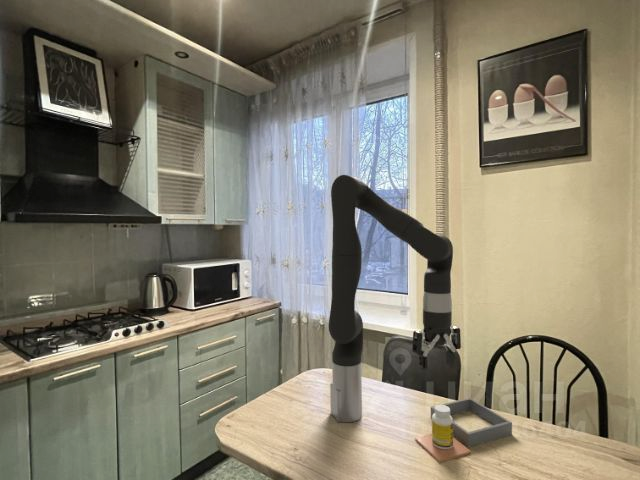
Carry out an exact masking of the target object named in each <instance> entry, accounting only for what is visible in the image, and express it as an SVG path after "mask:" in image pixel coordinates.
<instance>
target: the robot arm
mask: <svg viewBox="0 0 640 480" xmlns="http://www.w3.org/2000/svg"><path fill="white" fill-rule="evenodd" d="M330 197H331V213H332V248H331V249H332V250H331V302H330V311H329V320H328V332H329V335H330V337H331V338H332V339H333V341H335V342H334V343H335V344H334V347H333V350H332V353H331V360H332V361H331V364H332V366H331V367H332V373H331V374H332V377H331V378H332V383H330V384H329V385H330V387H329V388H330V389H329V391H330V395H329V396H330V414H331V415H332V416H333V418H334V419H335V421H336V422H338V423H339V422H340V423H341V422H343V423H354V422H357V421H358V420H361V418H362V417H363V400H362V399H363V397H362V396H363V393H362V392H363V390H362V387H363V386H362V385H363V383H362V379H363V378H362V355H363V352H364V351H363V349H364V322H363V319H362V316H361V314H360V313H359V312H358V311H356V307H355V303H356V301H355V300H356V293H357V290H358V286H359V282H360V279H361V272H362V261H363V260H362V259H363V258H362V257H363V256H362V255H363V253H362V252H363V250H362V243H361V240H360V237H359V234H358V229H357V225H356V209H359V210H361V211H362V212H364V213H367V214H368V215H369V216H371V217H372V218H374V219H375V220H376V221H377V222H379V224H380V225H381V226H382V227H383V228H384V229H386V230H387V231H389V232H390V234H392V235H394V236H395V237H397V238H398V239H399V240H401V241H402V242H404V243H407V245H409V247H411V248H412V249H413V250H414V251H415V252H417V253H418V254H419V256H422V258H424V259H426V260H427V264H426V265H427V266H426V267H427V268H426V270H425V272H424V274H423V296H422V324H423V329H422V330H421V331H419V330H416V329H414V331H413V333H412V347H411V348H412V353H414V354H416V355H418V365H419V367H420V369H422V370H424V371H427V370H428V356H427V355H428V354H429V352H430V351H431V350H432V349H433V348H434V347H438V346H444V347H445V349H446V350H445V364H447V365H448V366H454V363H455V352H456V350H460V349H461V347H462V340H461V329H460V328H459V327H457V326H454V325H452V324H453V321H452V320H453V319H452V317H453V316H452V315H453V311H452V309H453V299H452V293H451V292H452V279H451V276H452V275H451V272H452V267H453V266H452V265H453V256H454V247H453V243H452V241H451V240H450V238H448V237H447V236H445V235H438V234H436V233H434V231H431V230H430V229H428V228H426V227H425V226H424V224H423V223H422V222H420V221H419V220H417V219H416V218H414V217H413V216H411V215H410V214H408V213H406V212H405V211H403V210H402V209H399V208H398V207H396V206H395V205H393V204H391V203H390V202H388V201H387V200H385V199H384V198H383V197H381V196H380V195H378V194H377V193H376V192H375V191H373V189H371V188H370V187H369V186H368V185H367V184H366V182H364V181H363V180H362V179H360V178H359V177H355V176H353V175H349V174H340V175H339V176H337V177H336V178H335V179H334V181H333V182H332V186H331V188H330ZM427 343H428V344H427Z"/></svg>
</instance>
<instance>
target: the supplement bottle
mask: <svg viewBox="0 0 640 480" xmlns="http://www.w3.org/2000/svg"><path fill="white" fill-rule="evenodd" d="M434 406H435V413H434V414H433V415H432V419H431V434H432V443H433V444H434V445H435V446H436V447H437V448H440V449H451V448H452V447H453V437H454V436H453V421H454V418H453V417H452V415H450V408H449V407H448V406H445V405H441V404H436V405H434Z"/></svg>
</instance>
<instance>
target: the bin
mask: <svg viewBox="0 0 640 480" xmlns="http://www.w3.org/2000/svg"><path fill="white" fill-rule="evenodd" d="M440 405H445V406H448V407H449V408H450V416H452V415H456V414H459V413H464V412H468V411H471V412H473V413H474V414H476V415H478V417H481V418H482V419H484V420H486V422H489V423H490V424H491V425H489V426H486V427H482V428H479V429H475V430H471V431H467V430H466V429H465V428H463V427H462V426H461V425H459V424H458V423H457V422H455V421H454V420H453V437H454V438H455V439H456V440H458V441H459V442H460V443H461V444H463V445H464V446H465V447H467V448H471V447H475V446H477V445H481V444H484V443H488V442H491V441H495V440H498V439H501V438H506V437H508V436H512V435H513V422H512V421H510V420H509V419H507V418H505V417H503V416H502V415H500V414H499V413H497V412H495V411H493V410H492V409H490V408H488V407H487V406H485V405H483V404H482V403H480V402H478V401H476V400H475V399H473V398H471V397H467V398H463V399H459V400H455V401H451V402H445V403H442V404H440ZM435 406H436V405H433V406H430V420H432V415H433V414H434V413H435Z"/></svg>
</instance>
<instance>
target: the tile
mask: <svg viewBox="0 0 640 480" xmlns="http://www.w3.org/2000/svg"><path fill="white" fill-rule="evenodd" d="M415 441H416V443H418V444H419V445H420V446H421V447H422V448H423V449H424V450H425V451H427V452H428V454H429V455H430V456H432V457H433V458H434V459H435V460H436V461H437V462H438V463H444V462H446V461H450V460H453V459H457V458H460V457H464V456H466V455H470V454H471V453H472V451H471V449H469V447H467V446H466V445H465V444H463V443H462V442H461V441H460V440H458V439H457V438H456V437H454V436H453V447H452V448H451V449H440V448H437V447H436V446H435V445H434V444H433V443H432V433H430V434H426V435H423V436H422V435H421V436H417V437H415Z"/></svg>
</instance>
